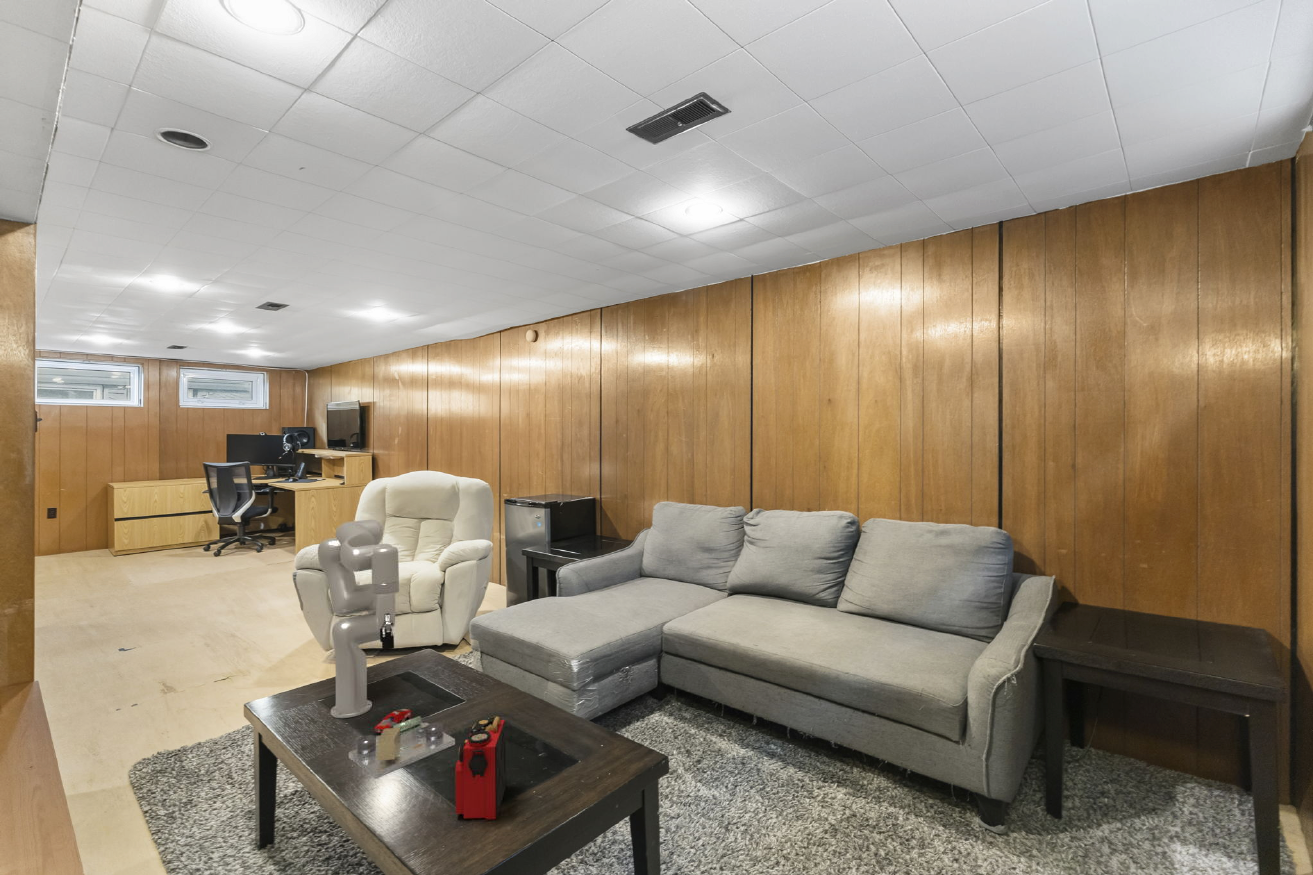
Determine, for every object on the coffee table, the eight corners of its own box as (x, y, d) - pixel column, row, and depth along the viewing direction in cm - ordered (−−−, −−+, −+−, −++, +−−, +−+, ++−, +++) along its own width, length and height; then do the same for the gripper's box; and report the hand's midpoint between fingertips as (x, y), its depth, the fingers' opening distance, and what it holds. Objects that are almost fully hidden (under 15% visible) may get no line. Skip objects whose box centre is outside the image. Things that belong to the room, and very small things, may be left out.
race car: (384, 737, 189) (384, 724, 189) (371, 734, 190) (371, 721, 190) (414, 718, 201) (414, 706, 201) (401, 716, 203) (401, 704, 203)
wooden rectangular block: (394, 762, 169) (394, 739, 169) (377, 764, 169) (377, 740, 169) (403, 744, 180) (403, 721, 180) (387, 745, 179) (387, 723, 179)
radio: (468, 787, 160) (468, 711, 161) (507, 785, 161) (507, 710, 161) (453, 824, 145) (453, 741, 145) (497, 822, 146) (496, 739, 146)
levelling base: (348, 757, 176) (348, 736, 176) (426, 727, 194) (426, 708, 194) (375, 778, 165) (375, 756, 165) (455, 744, 183) (454, 724, 183)
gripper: (370, 585, 189) (371, 640, 189) (373, 594, 174) (374, 655, 173) (396, 581, 193) (398, 636, 192) (401, 591, 178) (403, 650, 177)
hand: (387, 645), depth 183 cm, fingers open, 9 cm apart
